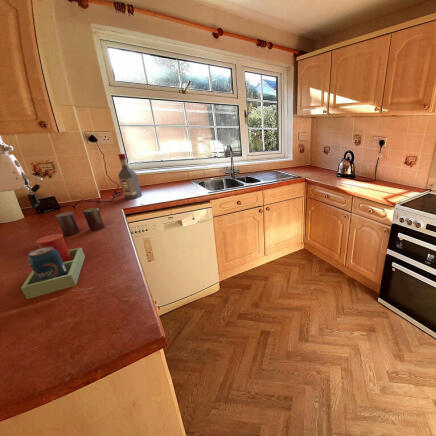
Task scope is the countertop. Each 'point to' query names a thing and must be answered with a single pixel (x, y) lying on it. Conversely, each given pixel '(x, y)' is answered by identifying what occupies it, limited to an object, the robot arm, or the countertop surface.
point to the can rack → (73, 269)
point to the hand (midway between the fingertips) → (13, 209)
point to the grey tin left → (67, 223)
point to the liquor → (128, 180)
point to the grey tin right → (93, 219)
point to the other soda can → (56, 245)
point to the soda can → (46, 263)
